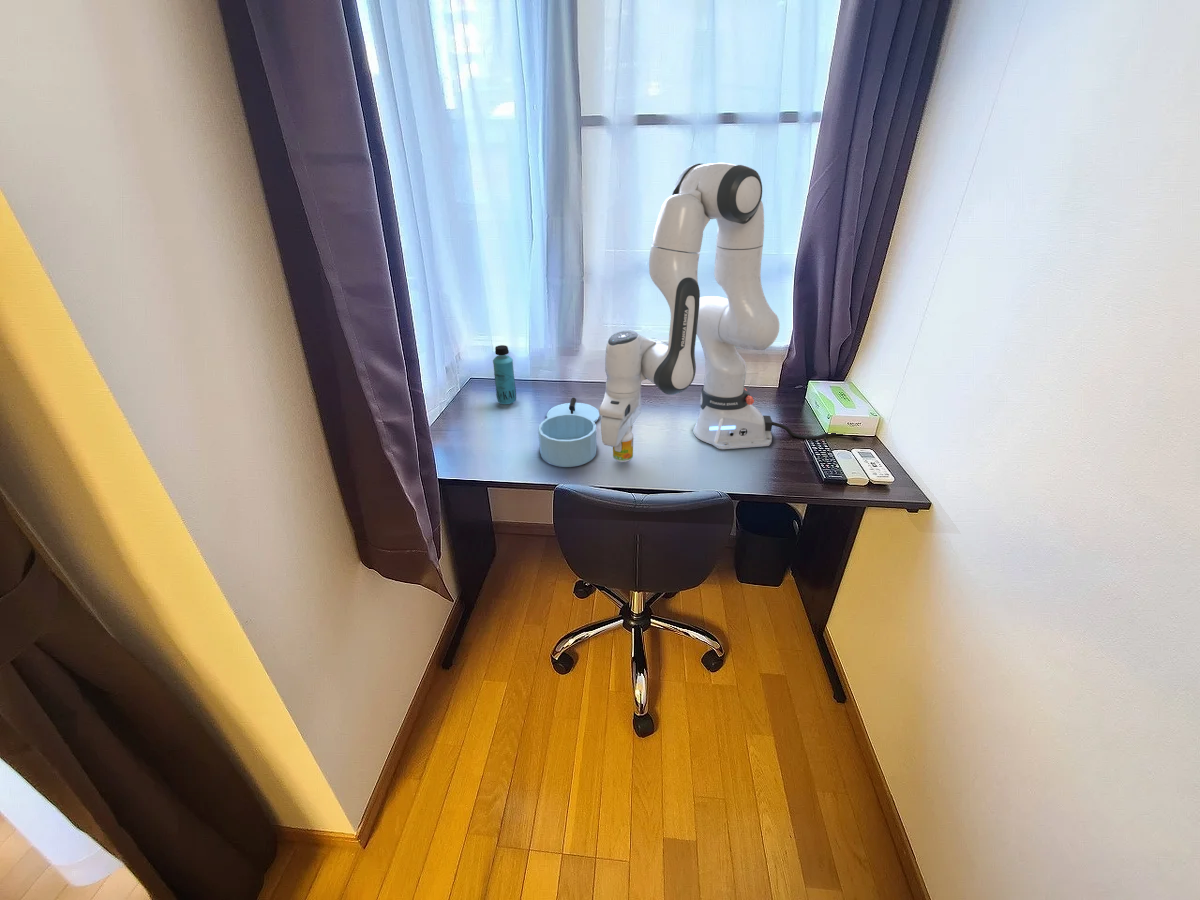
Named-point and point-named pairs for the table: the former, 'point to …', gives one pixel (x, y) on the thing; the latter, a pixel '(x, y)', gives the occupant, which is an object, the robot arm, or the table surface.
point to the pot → (567, 440)
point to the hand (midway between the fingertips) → (623, 444)
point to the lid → (575, 410)
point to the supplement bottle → (625, 448)
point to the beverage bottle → (504, 376)
